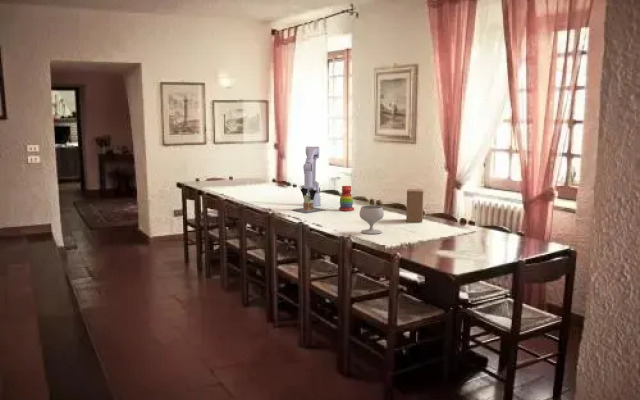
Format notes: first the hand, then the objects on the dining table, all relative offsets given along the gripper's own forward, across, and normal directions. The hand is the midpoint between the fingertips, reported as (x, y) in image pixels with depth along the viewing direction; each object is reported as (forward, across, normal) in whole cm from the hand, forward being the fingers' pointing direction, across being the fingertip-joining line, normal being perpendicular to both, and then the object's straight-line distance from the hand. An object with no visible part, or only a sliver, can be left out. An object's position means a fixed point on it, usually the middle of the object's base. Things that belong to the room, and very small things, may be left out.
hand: (308, 199), depth 399 cm
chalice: (+8, +81, -22) cm, 84 cm away
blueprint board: (+8, 0, 0) cm, 8 cm away
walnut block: (+7, 0, 0) cm, 7 cm away
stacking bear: (+8, +18, +20) cm, 28 cm away
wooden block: (+8, +76, +24) cm, 80 cm away
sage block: (+2, 0, 0) cm, 2 cm away
